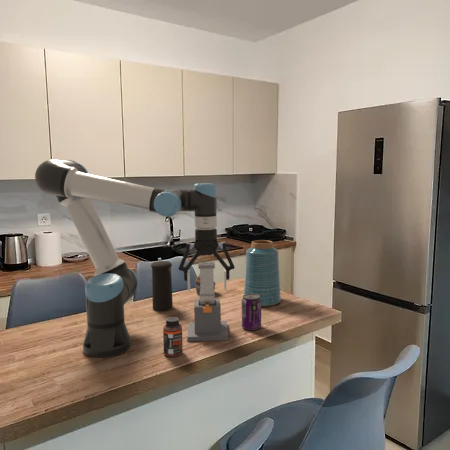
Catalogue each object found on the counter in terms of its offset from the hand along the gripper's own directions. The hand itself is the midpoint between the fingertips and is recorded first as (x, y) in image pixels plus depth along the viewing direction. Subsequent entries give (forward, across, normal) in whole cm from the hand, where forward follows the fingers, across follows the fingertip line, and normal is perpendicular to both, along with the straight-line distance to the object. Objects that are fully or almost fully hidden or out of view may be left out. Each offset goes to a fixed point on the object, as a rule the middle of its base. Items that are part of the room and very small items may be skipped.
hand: (207, 289), depth 142 cm
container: (+16, -19, +28) cm, 37 cm away
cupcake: (+16, -1, +47) cm, 50 cm away
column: (+14, 0, 0) cm, 14 cm away
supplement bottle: (+16, -11, -16) cm, 25 cm away
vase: (+16, +24, +33) cm, 44 cm away
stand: (+16, 0, 0) cm, 16 cm away
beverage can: (+16, +16, +3) cm, 23 cm away
